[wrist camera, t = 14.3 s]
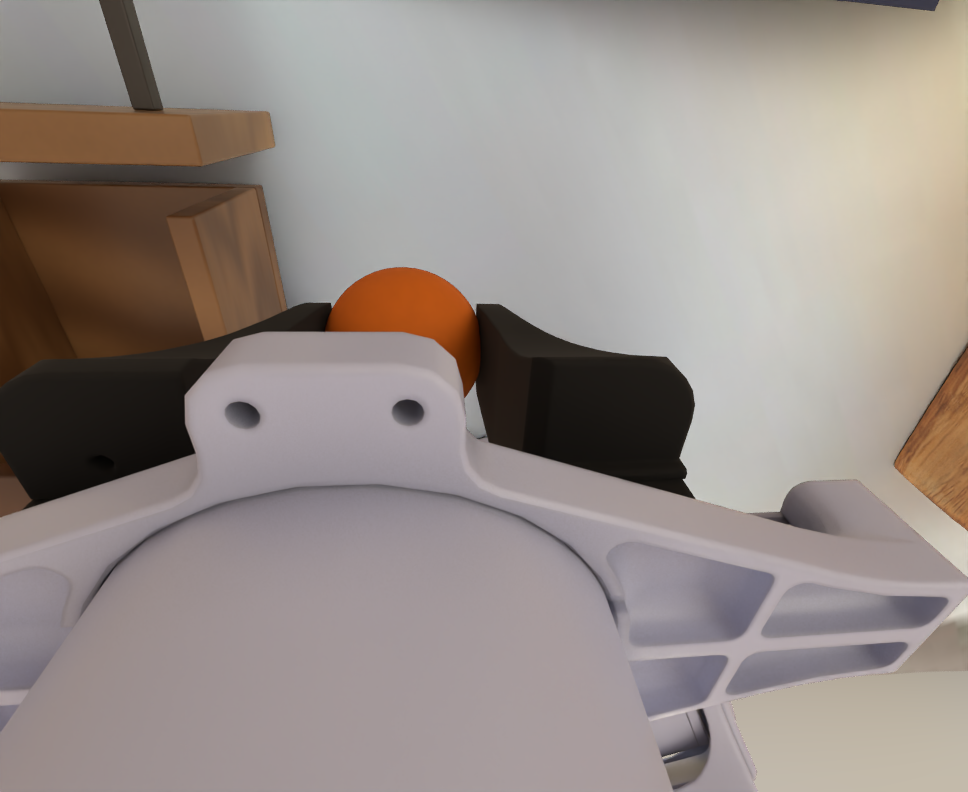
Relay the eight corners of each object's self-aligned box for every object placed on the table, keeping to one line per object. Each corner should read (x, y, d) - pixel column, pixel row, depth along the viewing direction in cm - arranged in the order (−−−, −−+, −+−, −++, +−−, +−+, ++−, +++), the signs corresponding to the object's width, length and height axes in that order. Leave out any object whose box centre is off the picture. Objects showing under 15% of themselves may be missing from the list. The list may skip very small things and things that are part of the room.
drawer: (-163, -95, 14) (-586, -238, 8) (237, -68, 15) (114, -176, 9) (92, 415, 24) (-18, 515, 18) (323, 409, 25) (290, 502, 19)
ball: (312, 276, 13) (269, 338, 10) (450, 228, 13) (455, 274, 9) (374, 392, 16) (357, 477, 12) (493, 353, 15) (511, 429, 12)
